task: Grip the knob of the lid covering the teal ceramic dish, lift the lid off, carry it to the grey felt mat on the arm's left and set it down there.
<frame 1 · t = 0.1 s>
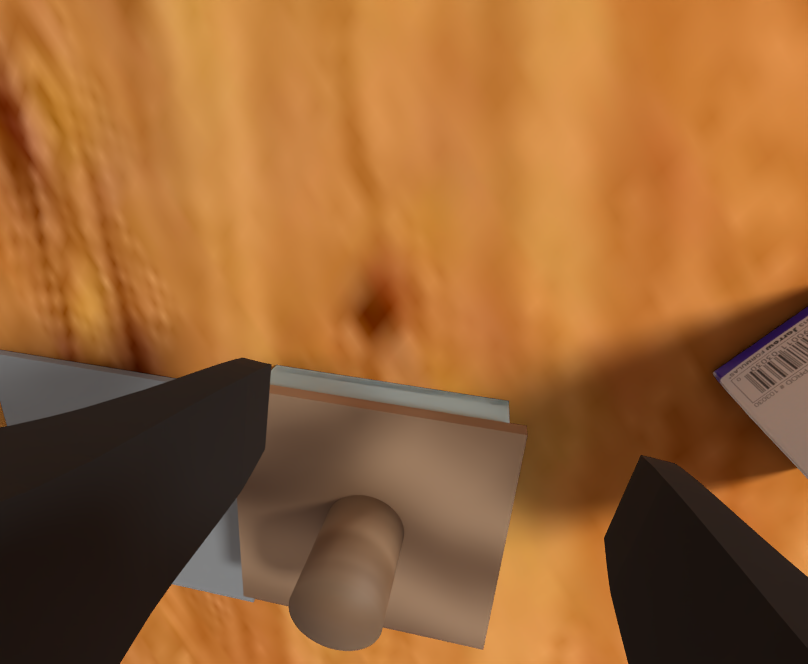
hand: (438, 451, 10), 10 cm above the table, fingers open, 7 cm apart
dish: (381, 478, 23), on the table
mat: (134, 480, 25), on the table
lid: (368, 516, 20), point 2 cm above the table, touching dish
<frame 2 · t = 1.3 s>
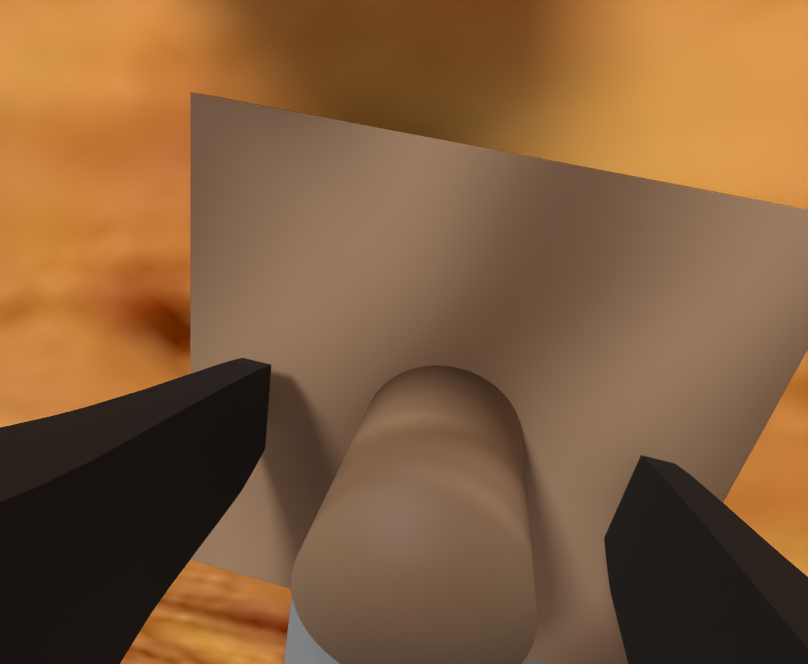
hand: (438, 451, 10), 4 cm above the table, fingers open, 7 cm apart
lid: (444, 421, 11), point 2 cm above the table, touching dish
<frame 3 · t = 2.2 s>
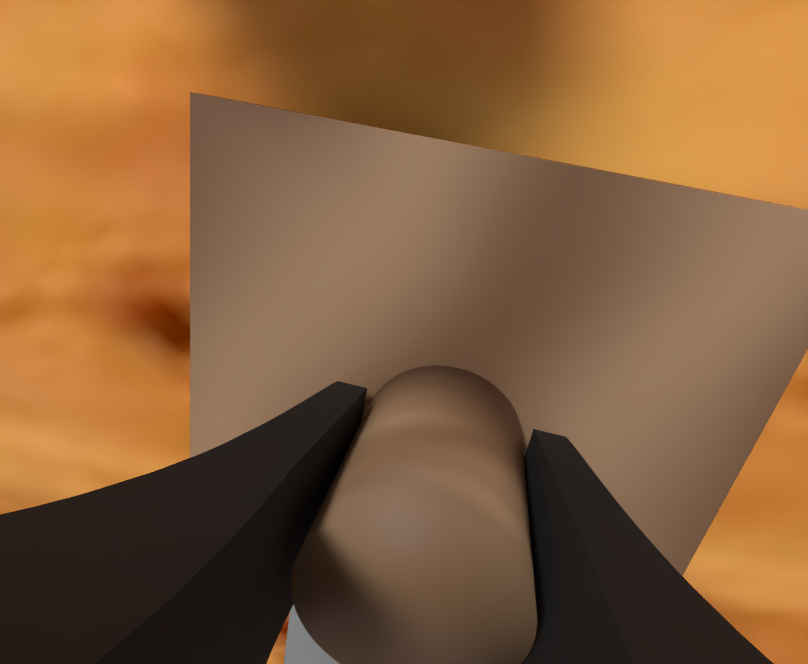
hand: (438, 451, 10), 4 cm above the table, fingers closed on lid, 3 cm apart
lid: (444, 421, 11), point 2 cm above the table, touching dish, gripper
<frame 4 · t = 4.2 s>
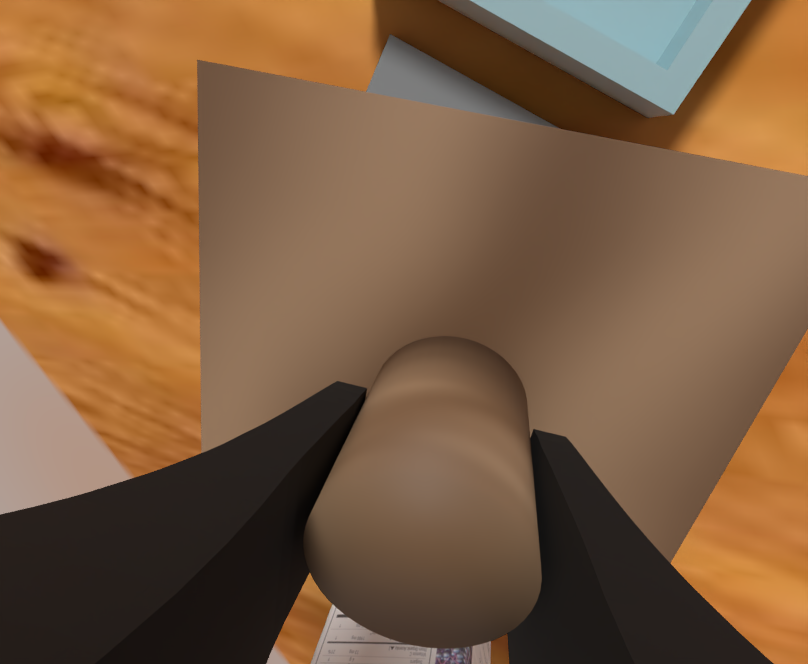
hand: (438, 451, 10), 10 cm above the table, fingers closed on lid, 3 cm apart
mat: (467, 296, 19), on the table
syrup box: (426, 560, 24), on the table
lid: (450, 391, 11), point 9 cm above the table, touching gripper
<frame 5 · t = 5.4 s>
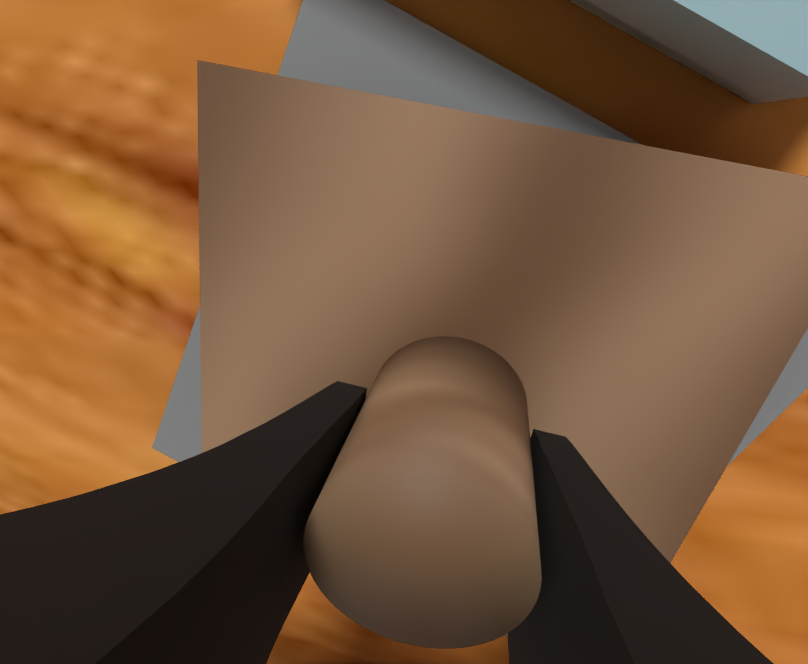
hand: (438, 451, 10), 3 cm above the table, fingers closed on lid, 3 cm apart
mat: (452, 378, 12), on the table
lid: (450, 391, 11), point 2 cm above the table, touching gripper
when the fingers open (3 cm above the table, at t = 6.2 s): lid drops 1 cm, resting on mat.
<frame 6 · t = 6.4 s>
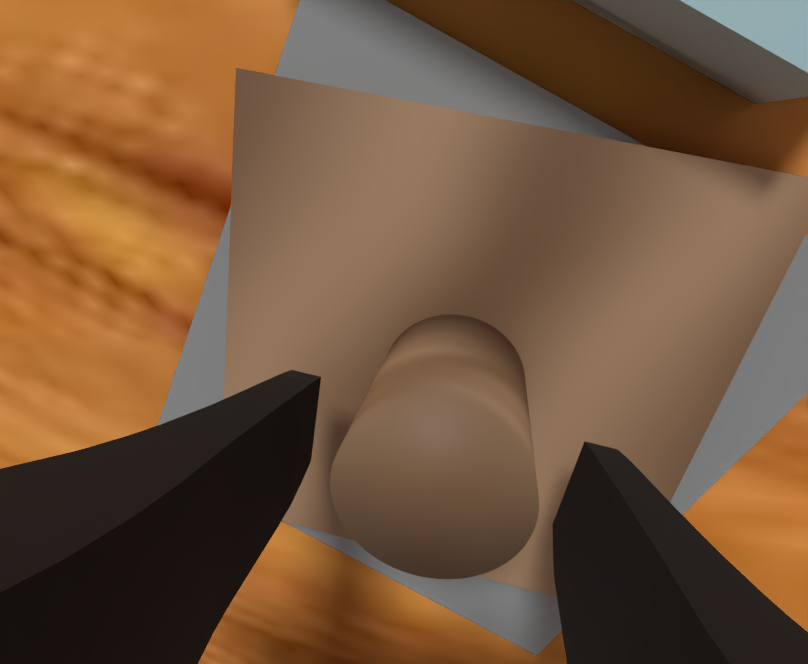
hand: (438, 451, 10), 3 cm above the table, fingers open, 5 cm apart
mat: (451, 380, 12), on the table
lid: (454, 369, 12), resting on mat
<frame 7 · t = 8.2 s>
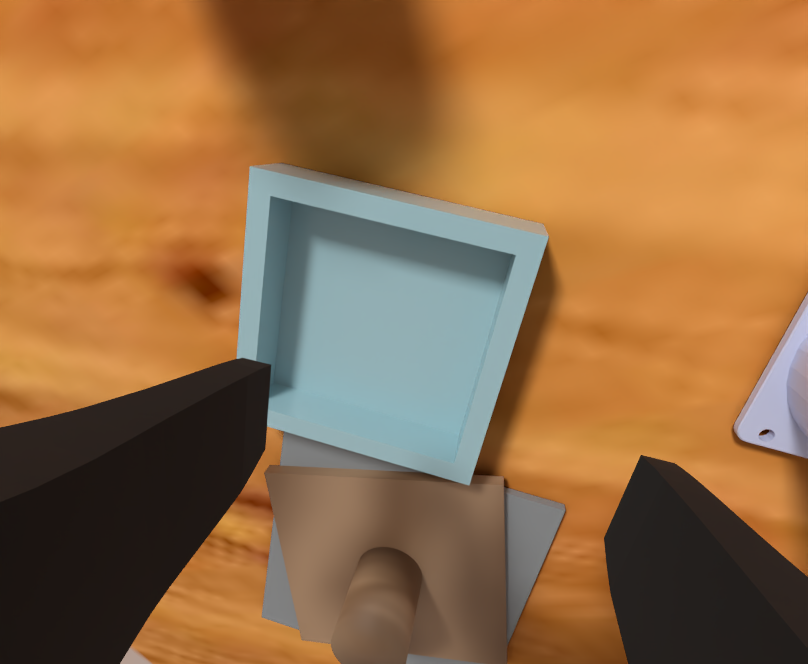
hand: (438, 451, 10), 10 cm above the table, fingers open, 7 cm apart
dish: (384, 316, 20), on the table
mat: (395, 564, 25), on the table
lid: (392, 563, 24), resting on mat
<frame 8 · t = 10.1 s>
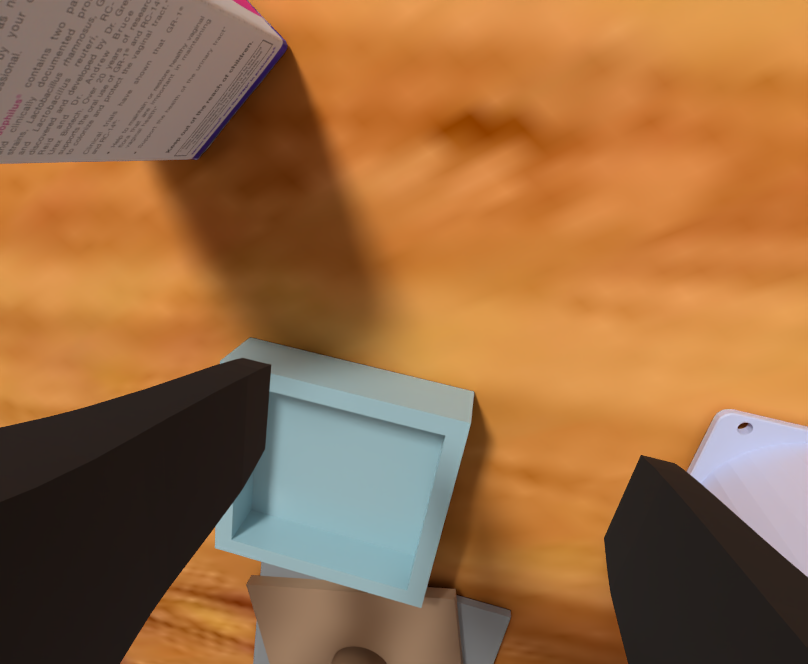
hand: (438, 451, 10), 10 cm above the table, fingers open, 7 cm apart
dish: (344, 457, 23), on the table
mat: (367, 656, 28), on the table
supplement box: (190, 42, 18), on the table
lid: (363, 656, 27), resting on mat
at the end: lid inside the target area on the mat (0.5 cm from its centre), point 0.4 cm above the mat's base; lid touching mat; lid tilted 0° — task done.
